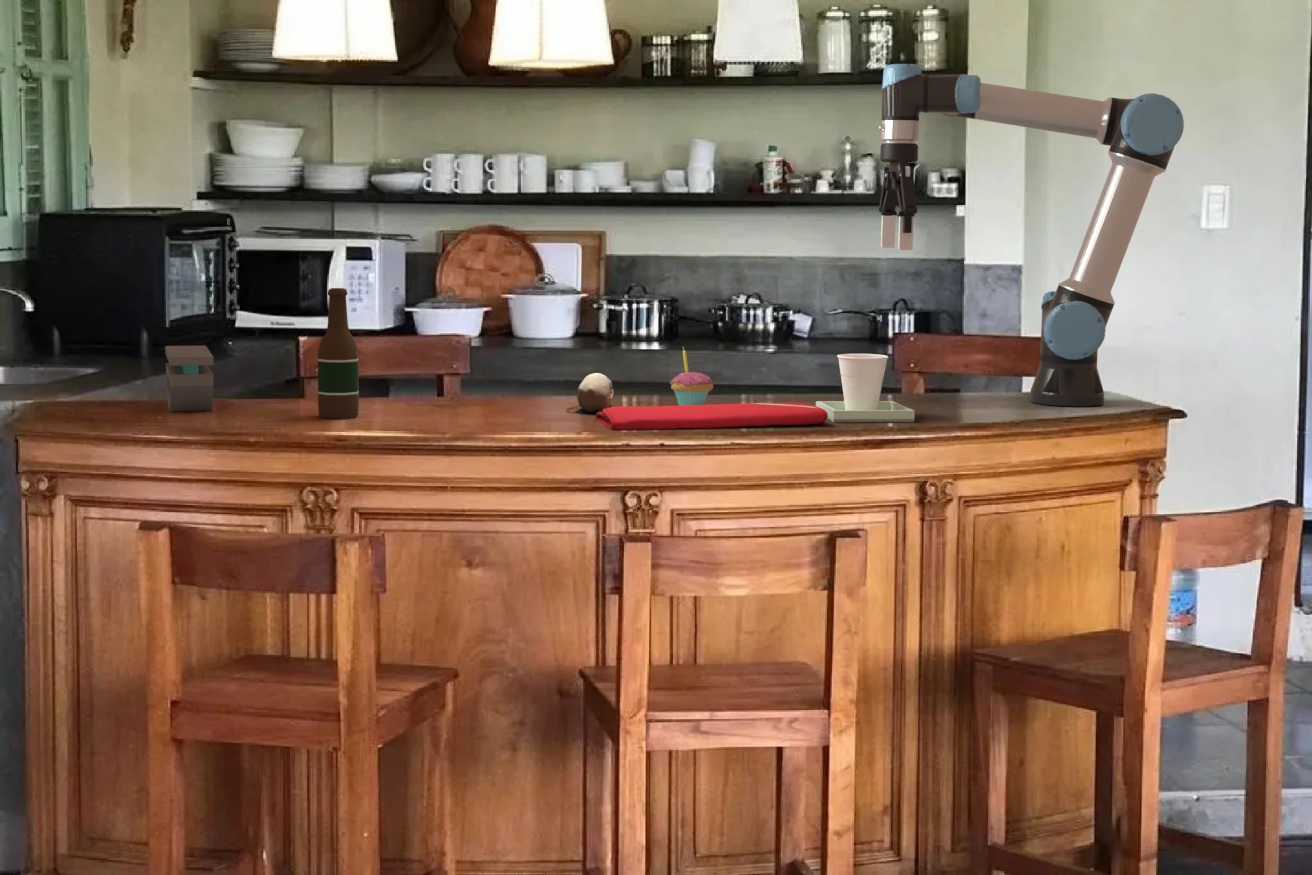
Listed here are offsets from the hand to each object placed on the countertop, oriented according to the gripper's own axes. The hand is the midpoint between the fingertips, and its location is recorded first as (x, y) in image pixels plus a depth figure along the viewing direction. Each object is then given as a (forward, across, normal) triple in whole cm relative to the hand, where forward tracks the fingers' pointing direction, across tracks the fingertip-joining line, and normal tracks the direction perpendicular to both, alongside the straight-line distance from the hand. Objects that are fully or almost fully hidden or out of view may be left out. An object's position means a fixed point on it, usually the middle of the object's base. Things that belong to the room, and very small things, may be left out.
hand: (896, 249), depth 377 cm
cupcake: (+32, +4, -42) cm, 53 cm away
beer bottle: (+32, +18, -111) cm, 117 cm away
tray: (+32, +21, -11) cm, 40 cm away
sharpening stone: (+32, +2, -140) cm, 144 cm away
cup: (+31, +18, -11) cm, 38 cm away
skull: (+32, +10, -62) cm, 70 cm away
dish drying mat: (+32, +29, -42) cm, 61 cm away
